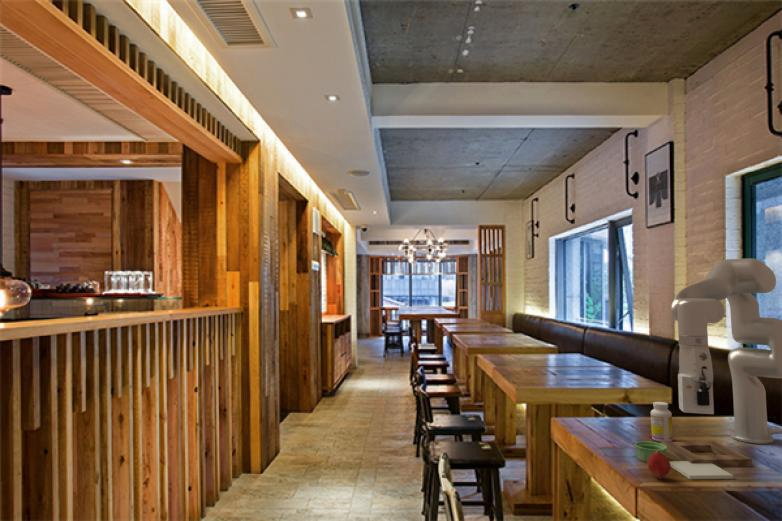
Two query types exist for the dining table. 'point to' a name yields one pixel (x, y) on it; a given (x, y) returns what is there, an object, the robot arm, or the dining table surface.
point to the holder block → (721, 458)
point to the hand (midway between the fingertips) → (696, 402)
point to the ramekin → (648, 449)
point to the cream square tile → (700, 470)
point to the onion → (658, 464)
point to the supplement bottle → (661, 422)
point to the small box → (692, 396)
